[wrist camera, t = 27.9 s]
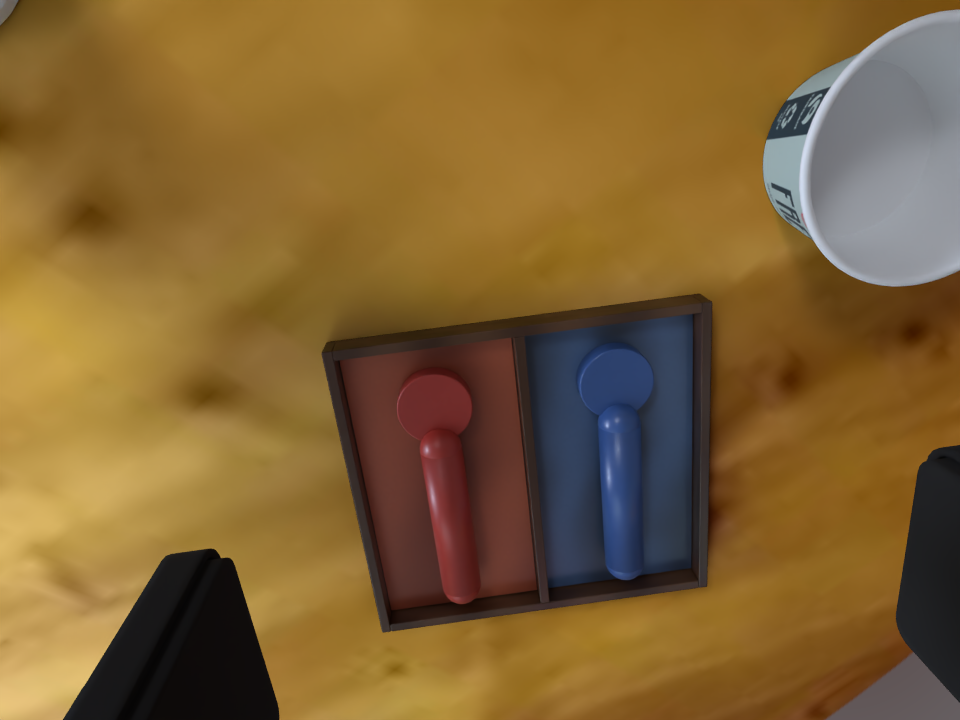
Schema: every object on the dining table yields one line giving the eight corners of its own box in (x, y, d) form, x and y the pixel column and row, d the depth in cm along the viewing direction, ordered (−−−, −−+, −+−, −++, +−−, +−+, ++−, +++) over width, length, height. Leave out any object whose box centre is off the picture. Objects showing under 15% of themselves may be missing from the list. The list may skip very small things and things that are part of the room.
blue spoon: (651, 558, 43) (664, 583, 41) (587, 567, 43) (596, 593, 41) (647, 337, 37) (661, 351, 35) (573, 347, 37) (582, 362, 35)
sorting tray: (384, 613, 44) (382, 633, 42) (326, 342, 37) (321, 352, 35) (697, 569, 44) (707, 587, 43) (700, 293, 37) (712, 301, 36)
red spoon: (495, 581, 43) (499, 607, 40) (430, 590, 43) (430, 617, 40) (466, 362, 37) (469, 378, 35) (391, 371, 37) (389, 388, 35)
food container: (996, 97, 34) (1118, 91, 28) (862, 292, 38) (944, 325, 32) (823, -16, 32) (915, -49, 26) (696, 205, 35) (751, 222, 29)
